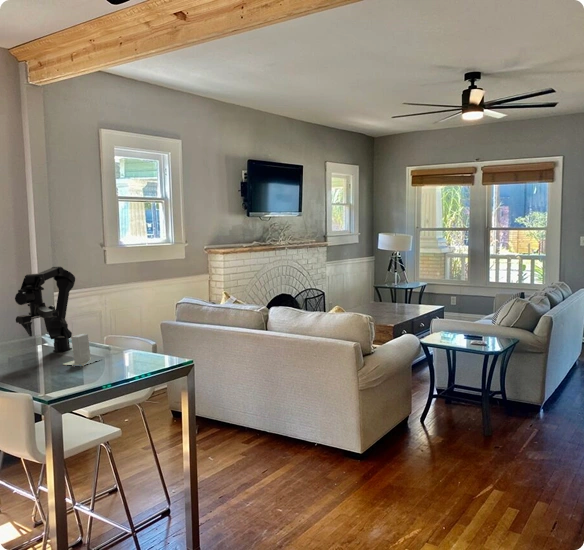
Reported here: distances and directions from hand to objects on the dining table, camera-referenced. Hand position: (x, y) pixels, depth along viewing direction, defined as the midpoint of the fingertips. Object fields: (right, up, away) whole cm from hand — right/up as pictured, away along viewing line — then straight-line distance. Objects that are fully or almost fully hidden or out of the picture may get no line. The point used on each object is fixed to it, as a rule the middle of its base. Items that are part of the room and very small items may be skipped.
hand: (39, 334), depth 255 cm
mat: (+24, -12, -9) cm, 28 cm away
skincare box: (+23, -12, -9) cm, 28 cm away
